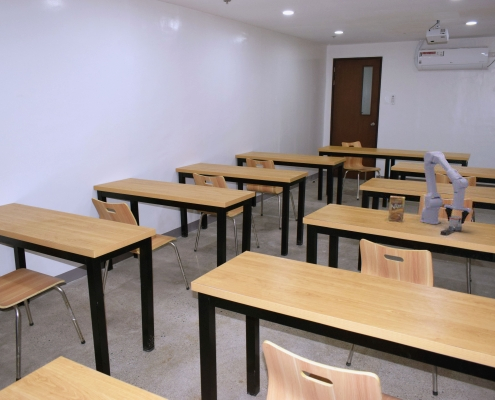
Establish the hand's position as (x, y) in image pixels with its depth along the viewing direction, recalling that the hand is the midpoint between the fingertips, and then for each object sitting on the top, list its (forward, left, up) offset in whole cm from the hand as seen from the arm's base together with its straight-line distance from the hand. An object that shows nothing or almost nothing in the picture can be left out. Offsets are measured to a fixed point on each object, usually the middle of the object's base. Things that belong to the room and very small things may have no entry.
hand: (455, 222), depth 253 cm
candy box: (-34, -7, -5) cm, 35 cm away
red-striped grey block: (0, 0, -2) cm, 2 cm away
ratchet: (0, -6, -5) cm, 8 cm away
